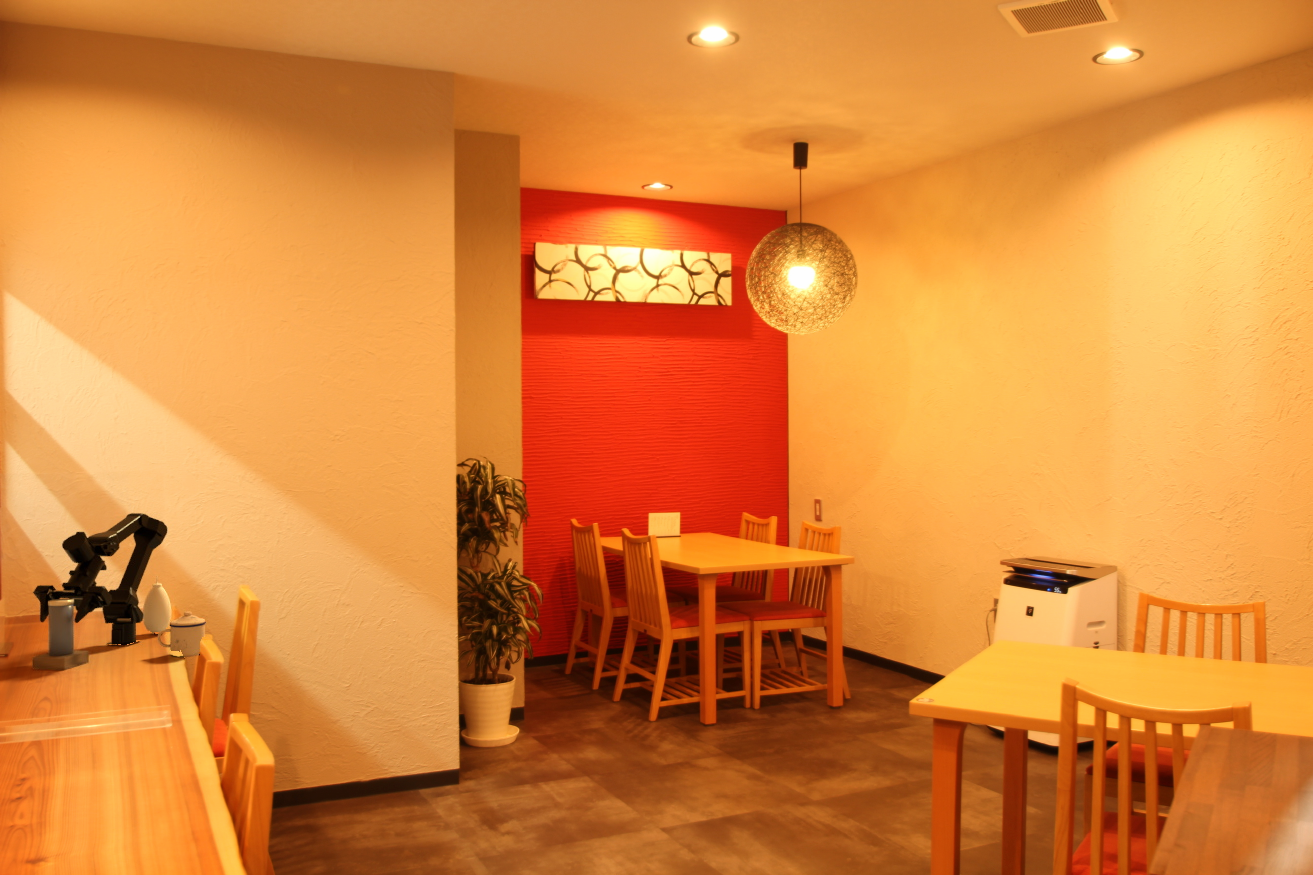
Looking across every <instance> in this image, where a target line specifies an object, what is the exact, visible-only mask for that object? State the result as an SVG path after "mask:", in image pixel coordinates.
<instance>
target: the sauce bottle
mask: <svg viewBox="0 0 1313 875" xmlns="http://www.w3.org/2000/svg"><path fill="white" fill-rule="evenodd" d="M170 601H171V600H170V597H169V594H168V593H167V591H166V590H165V588H164V587H163V584H162V583H161V582H159V576H158V574H157V575H156V583H153V584H152V587H151V588H150V590H149V591H148V593H147V595H146V597H145V600H144V603H143V607H142V612H143V614H144V615H143V620H142V622H143V625H144V628H145V629H146V630H147V631H149V633H150V632H152V633H151V634H154V632H160V631H162V630H164V629H166V628H167V629H168V627H169V626H170V622H171V621H172V604H171V602H170Z"/></svg>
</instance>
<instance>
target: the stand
mask: <svg viewBox="0 0 1313 875" xmlns="http://www.w3.org/2000/svg"><path fill="white" fill-rule="evenodd" d="M89 656H90V651H89V650H74V653H73V654H69V655H63V656H49V652H46V653H43V654H41V655H40V654H39V655H36V656H33V657H32V668H34V669H33V670H46V669H47V670H51V671H53V670H55V671H66V670H70V669H72V668H75V667H79V666H82V665H85V664H89V662H90V659H89V658H90V657H89ZM32 668H31V669H32Z"/></svg>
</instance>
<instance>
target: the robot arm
mask: <svg viewBox="0 0 1313 875" xmlns="http://www.w3.org/2000/svg"><path fill="white" fill-rule="evenodd" d="M131 535H133V540H134V543H135V545H134V549H133V551H132V553H131V556H130V558H129V560H128V562H127V566H126V568H125V571H124V573H123V575H122V578H121V580H120V582H119V586H118V587H117V588H116V589H109V590H108V588H106V586H105V585H97V584H98V583H97V581H96V579H97V577H98V575H99V574H100V572H101V571H107V565H106V561H105V560H104V559H103V558H102V557H113V556H114V555H115V554H116V553H117V552H118V551H119V549H120V544H121V543H122V542H124V541H125V540H126V539H127V538H129V537H130V536H131ZM167 535H168V527H167V525H166V524H165V522H164V521H163V520H159V519H156V518H155V517H151V516H150V515H148V514H146V513H143V512H142V513H139V512H136V513H135V512H131V513H129V514H127V515H126V517H124V518H123V519H122V520H120V521H119V522H117V523H116V524H115V525H113V526H112V527H110V528H109V529H108V530H106V531H102V532H97V533H93V534H91V535H89V536H87V534H86V532H85V531H76V533H74V534H72V535H71V536H68V537H67V538H66V539H64V540H63V541H62V543H61V547H62V549H63V550H64V551H65V553H66V554H67V556H68V557H69V558H70V560H71V561H72V563H75V564H76V567H75V568H74V569H73V570H72V569H70V570H69V572H68V574H69V576H70V577H69V578H68V581H66V582H63V583H62V584H61V587H62V589H59V590H58V589H56V588H55V586H54V585H53V584H49V585H48V584H46V585H45V584H40V585H37V586H36V587H35V588H34V590H33V592H32V593H33V594H34V596H35V597H36V598H37V600H38V601H39V606H40V607H39V622H40V623H44V622H45V620H47V619H48V617H49V606H48V601H50V600H56V599H74V604H73V605H74V608H75V610H76V613H75V615H74V623H75V624H78V623H79V622H80V621H82V620H83V619H84V618H85V617H86V616H87V615H89V614H90V613H92V612H94V610H96V609H101V608H102V614H103V618H104V622H105V624H111V636H110V637H111V638H110V639H111V640H110V642H107V643H106V645H107V644H108V643H109V644H117V645H116V646H119V645H118V644H121V645H127V644H130V643H133V642H136V640H137V638H136V637H137V624H141V623H142V622H143V615H144V614H143V610H142V609H141V608H140V607H139V604H140V601H139V597H138V594H137V593H138V589H139V587H140V584H141V582H142V579H143V576H144V574H145V572H146V569H147V566H148V563H149V561H150V558H151V556H152V553H153V551H154V550H155V549H156V548H158V547H159V546H160V545H162V543H163V542H164V539H165V537H166V536H167Z"/></svg>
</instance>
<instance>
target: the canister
mask: <svg viewBox="0 0 1313 875" xmlns="http://www.w3.org/2000/svg"><path fill="white" fill-rule="evenodd" d="M73 604H74V599H69V598H60V599H56V600H50V601H48V606H49V615H48V653H49V656H63V655H69V654H73V653H74V651H75V650H74V647H75V646H74V638H75V637H74V634H75V632H74V631H75V630H74V629H75V628H74V625H75V624H74V623H75V621H74V620H75V615H74V614H75V613H74V608H75V606H74V605H73Z"/></svg>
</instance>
